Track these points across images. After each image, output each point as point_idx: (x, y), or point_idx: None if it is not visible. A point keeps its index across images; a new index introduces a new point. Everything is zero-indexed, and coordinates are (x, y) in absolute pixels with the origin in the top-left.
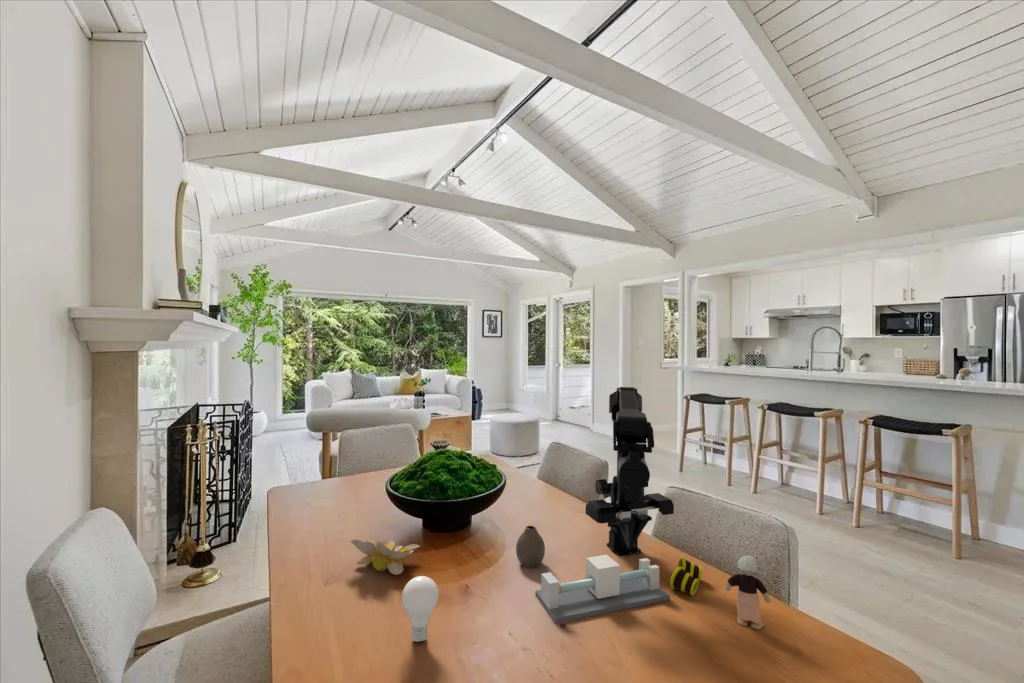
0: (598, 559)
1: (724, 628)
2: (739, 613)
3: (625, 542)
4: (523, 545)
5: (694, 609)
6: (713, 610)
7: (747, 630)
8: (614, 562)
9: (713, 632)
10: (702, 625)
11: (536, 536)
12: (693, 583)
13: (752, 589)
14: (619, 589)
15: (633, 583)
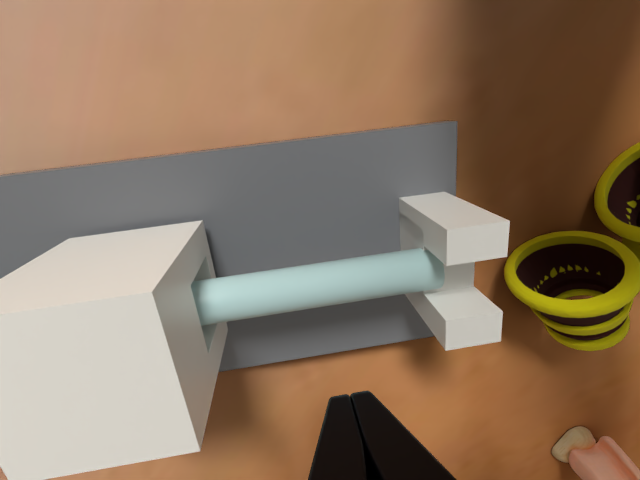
0: (43, 363)
1: (496, 461)
2: (580, 471)
3: (320, 432)
4: None
5: (486, 379)
6: (540, 389)
7: (547, 471)
8: (174, 414)
9: (453, 473)
10: (447, 447)
11: None
12: (584, 348)
13: None
14: (257, 266)
15: (352, 227)
